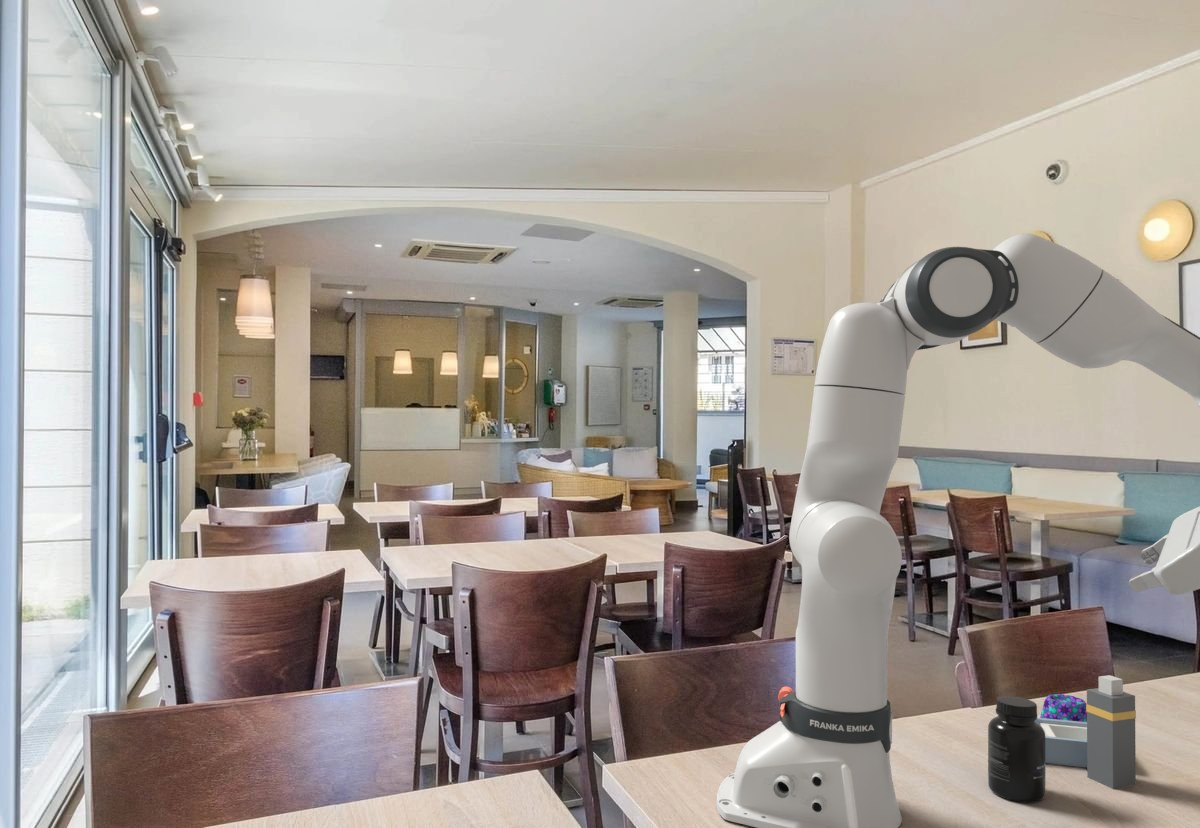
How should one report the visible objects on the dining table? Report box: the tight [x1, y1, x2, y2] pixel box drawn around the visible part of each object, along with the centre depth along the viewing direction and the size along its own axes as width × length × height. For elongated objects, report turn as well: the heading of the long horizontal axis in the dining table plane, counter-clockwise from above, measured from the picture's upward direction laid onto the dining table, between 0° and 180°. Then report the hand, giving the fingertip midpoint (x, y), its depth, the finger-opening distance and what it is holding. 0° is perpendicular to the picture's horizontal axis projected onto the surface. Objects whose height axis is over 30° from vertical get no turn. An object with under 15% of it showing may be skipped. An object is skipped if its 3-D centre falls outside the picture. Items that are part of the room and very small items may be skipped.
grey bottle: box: [1086, 674, 1137, 790], centre depth 114 cm, size 4×4×14 cm
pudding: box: [1037, 693, 1087, 722], centre depth 134 cm, size 12×12×5 cm
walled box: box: [1035, 718, 1087, 768], centre depth 124 cm, size 14×9×4 cm, turn 73°
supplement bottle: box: [987, 695, 1047, 804], centre depth 111 cm, size 7×7×12 cm
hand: (1138, 571), depth 112 cm, fingers open, 8 cm apart
